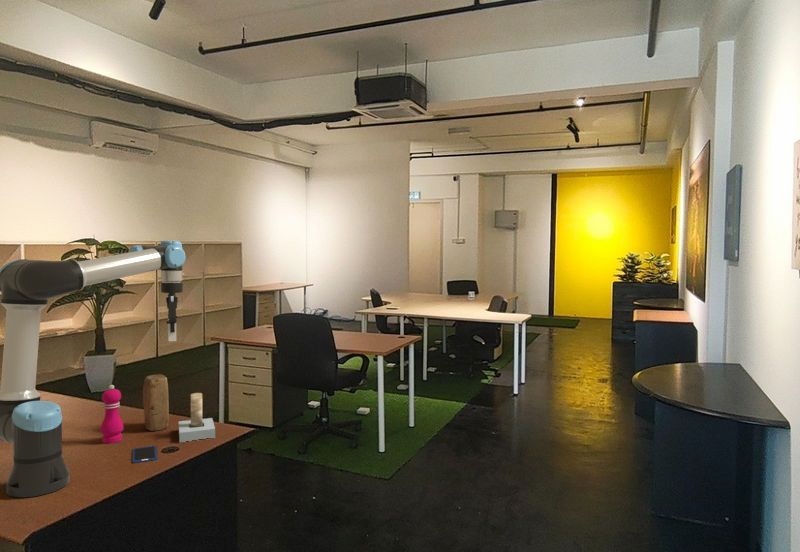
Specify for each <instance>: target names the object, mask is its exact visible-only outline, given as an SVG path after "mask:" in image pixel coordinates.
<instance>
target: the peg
mask: <svg viewBox="0 0 800 552" xmlns="http://www.w3.org/2000/svg"><path fill="white" fill-rule="evenodd" d="M202 419H203V393H202V392H194V393H191V394H190V420H191V428H194V427H202V425H203V424H202Z"/></svg>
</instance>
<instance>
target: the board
mask: <svg viewBox="0 0 800 552" xmlns="http://www.w3.org/2000/svg"><path fill="white" fill-rule="evenodd" d="M202 424H203V425H202V427H194V428H191V419H189V420H181V421H178V438H179V441H178V442H179V443H187V442H186V441H189V442H193V441H192V440H197V441H199V440H198V439H206V438H214V439H216V426H215V423H214V420H213V417H208V418H202ZM206 440H207V439H206Z"/></svg>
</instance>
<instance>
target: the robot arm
mask: <svg viewBox="0 0 800 552" xmlns="http://www.w3.org/2000/svg"><path fill="white" fill-rule="evenodd" d="M186 260H187V259H186V253H185V250H184V249H183V243H182V242H181V241H179V240H162V241H160V245H132V246H131V247H129V249H128V252H127V253H126V252H125V253H120V254H114V255H109V256H104V257H96V258H91V259H86V260H81V261H77V260H76V259H68V260H67V259H66V260H41V259H37V260H36V259H27V258H26V259H16V260H12V261H9V262H7V263H5V264H4V265H3V266H1V268H0V292H1V293H0V295H1V297H0V305H1V306H2V307H4V308H5V311H6V314H5V325H4V326H5V327H4V340H3V341H4V342H3V350H2V351H3V353H2V366H1V378H0V379H1V381H0V440H1V441H3V442H7V443H9V444H11V445H12V446H13V447H12V448H13V449H12V454H13V463H12V464H13V465H12V467H11V471H10V472H9V476H8V479H7V480H6V485H5V488H6V489H5V490H6V491H5V493H6V495H8V496H10V497H12V498H33V497H39V496H43V495H47V494H51V493H54V492H56V491H59V490H61V489H63V488H65V487H66V486H67V485H68V484H69V483H70V476H71V475H70V471H69V469H68V466H67V463H66V461H65V459H64V457H63V414H62V408H61V406H60V405H59V404H58V403H56V402H54V401H50V400H49V401H48V400H46V401H45V400H41V396H42V394H41V393H40V392H39V391H38V390H37V389H36V383H37V368H38V355H39V343H40V341H39V340H40V329H41V317H42V315H41V314H42V310H43V309H45V308H46V307H48V301H49V299H54V298H57V297H60V296H63V295H67V294H71V293H75V292H80V291H83V289H84V287H87V286H90V285H95V284H99V283H100V284H101V283H105V282H109V281H114V280H118V279H122V278H128V277H133V276H136V275H140V274H141V275H142V274H144V273H150V272H155V271H158V270H159V271H160V281H161V283H160V293H163V294H167V296H168V297H165V298H166V301H165V302H166V309H168V311H167V318H168V319H167V321H166V324H167V336H168V342H177V319H178V315H177V309H178V302H179V301H178V300H179V299H178V298H179V297H178V296H176V293H178V294H180V293H183V289H184V288H183V282H182V281H183V276H185V273H184V272H183V265H184V263H185V262H186Z"/></svg>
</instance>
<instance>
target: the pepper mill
mask: <svg viewBox="0 0 800 552" xmlns="http://www.w3.org/2000/svg"><path fill="white" fill-rule="evenodd" d="M121 398H122V393H121V391H120V390H119V389H116V388H115V385H114V384H110V385H109V386H108V389H106V390H105V391H104V392H103V393H102V395H101V399H102V401H103V402H104V403H103V408H104V410H105V411H104V413H105V414H104V418H103V421H102V423H101V425H100V433H101V434H102V435H103V436H102V438H101V439H102V441H101V442H102V443H103V444H115V443H119V442H121V441H122V440H123V434H122V432H123V431H124V423H123V420H122V419H121V416H120V413H119V407H120V404H121V403H120V402H121V401H120V400H121Z"/></svg>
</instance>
